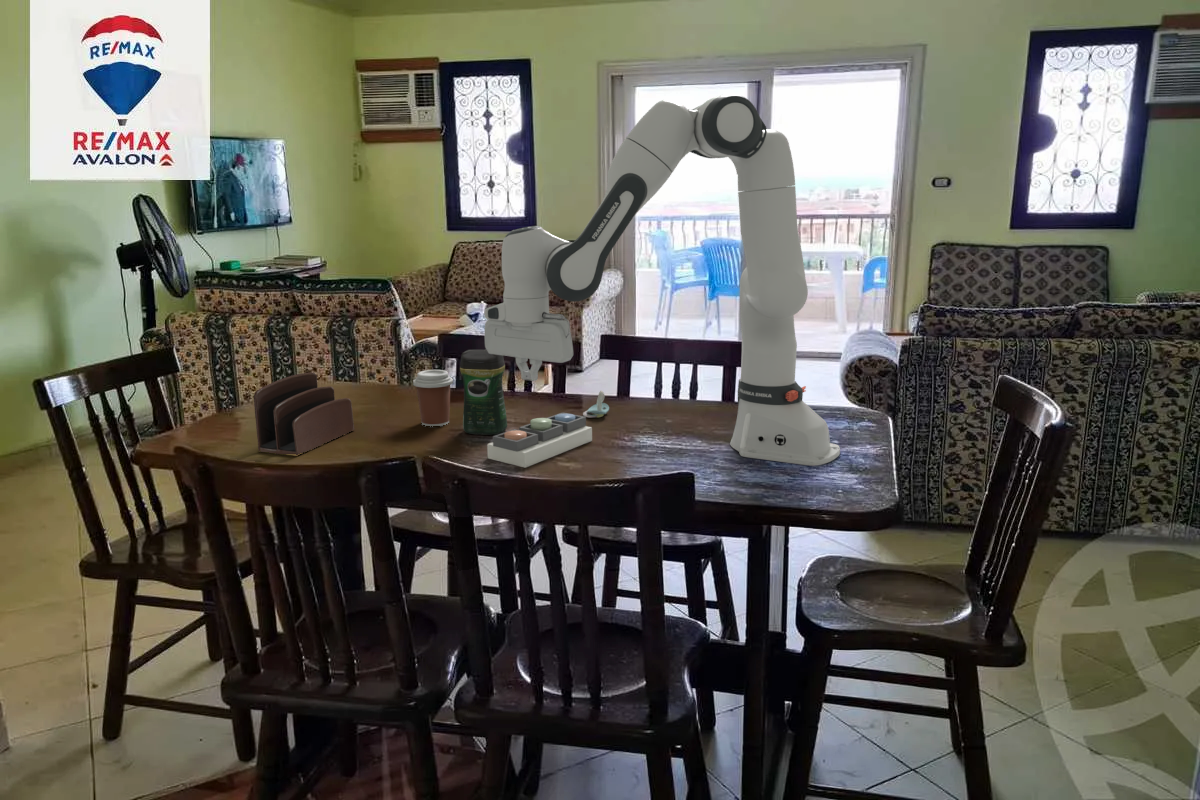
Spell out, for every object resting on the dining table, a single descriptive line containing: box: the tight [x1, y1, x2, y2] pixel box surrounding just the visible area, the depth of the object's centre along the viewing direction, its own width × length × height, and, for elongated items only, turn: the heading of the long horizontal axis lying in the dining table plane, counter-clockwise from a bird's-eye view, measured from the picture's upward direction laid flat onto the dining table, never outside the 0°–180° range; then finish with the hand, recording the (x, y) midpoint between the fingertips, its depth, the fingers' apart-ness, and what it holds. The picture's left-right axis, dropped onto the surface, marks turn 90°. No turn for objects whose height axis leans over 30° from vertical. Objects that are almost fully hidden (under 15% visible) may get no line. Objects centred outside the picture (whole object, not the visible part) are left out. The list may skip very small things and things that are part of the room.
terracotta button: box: [504, 429, 527, 441], centre depth 168 cm, size 4×4×2 cm
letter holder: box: [253, 372, 355, 455], centre depth 180 cm, size 10×20×14 cm, turn 161°
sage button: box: [529, 417, 552, 431], centre depth 174 cm, size 4×4×2 cm
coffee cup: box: [412, 369, 454, 428], centre depth 194 cm, size 9×9×12 cm
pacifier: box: [582, 390, 610, 419], centre depth 201 cm, size 7×6×6 cm
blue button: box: [554, 413, 576, 422], centre depth 181 cm, size 4×4×2 cm
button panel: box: [487, 412, 593, 468], centre depth 175 cm, size 10×22×5 cm, turn 144°
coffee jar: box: [459, 349, 508, 436], centre depth 187 cm, size 10×8×19 cm
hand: (529, 379), depth 168 cm, fingers closed
